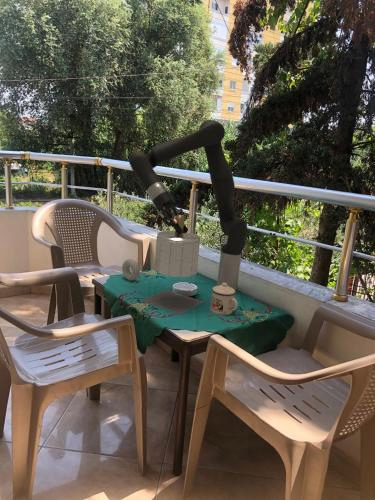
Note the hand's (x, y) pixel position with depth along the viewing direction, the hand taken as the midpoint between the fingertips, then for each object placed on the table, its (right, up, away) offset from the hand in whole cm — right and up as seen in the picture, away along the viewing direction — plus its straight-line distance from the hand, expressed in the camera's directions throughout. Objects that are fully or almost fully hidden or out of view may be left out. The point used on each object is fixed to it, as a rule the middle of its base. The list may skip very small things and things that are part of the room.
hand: (183, 232), depth 156 cm
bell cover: (-3, -14, +5) cm, 16 cm away
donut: (-25, -21, +29) cm, 43 cm away
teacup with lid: (+16, -31, +3) cm, 35 cm away
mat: (-4, -28, +8) cm, 29 cm away
